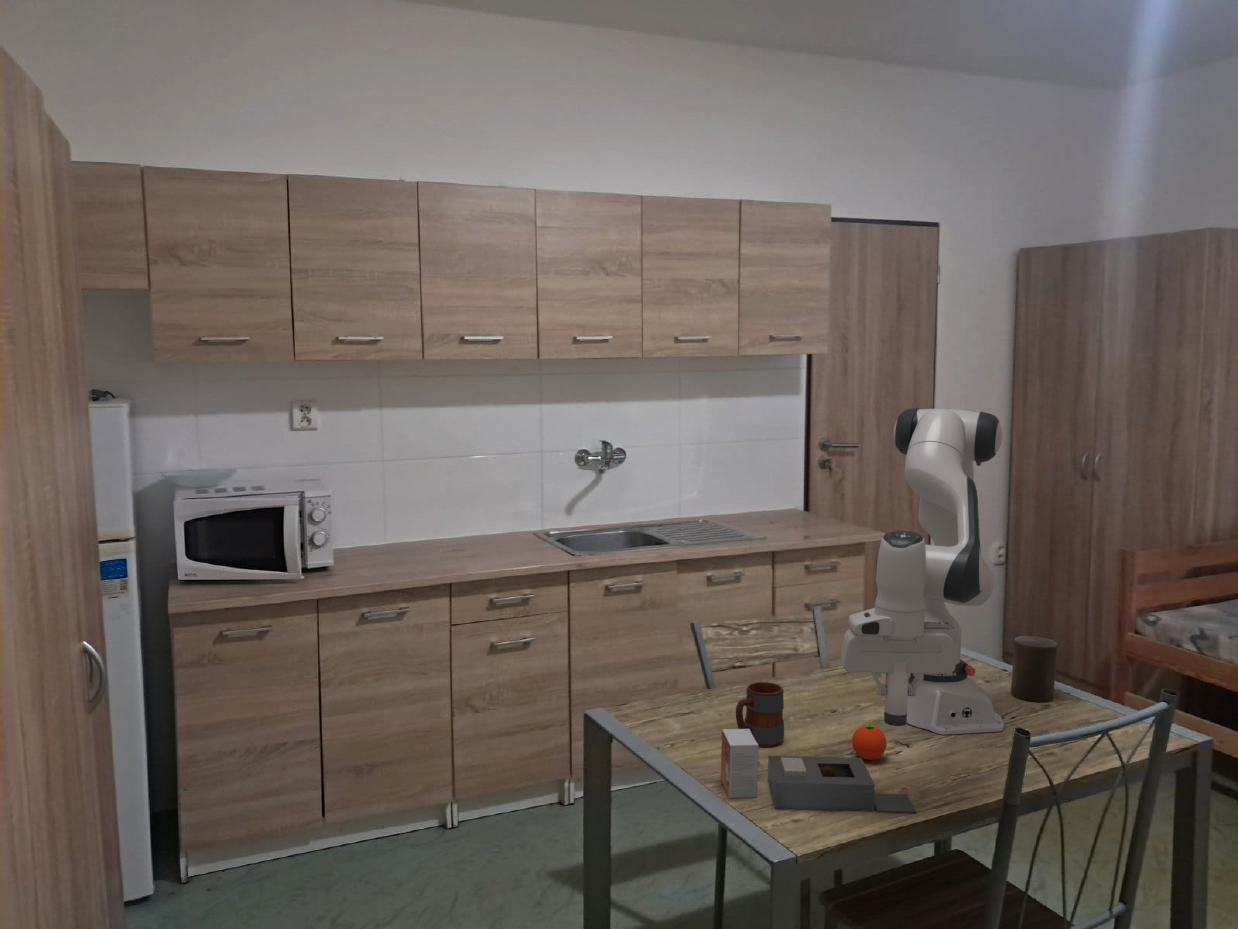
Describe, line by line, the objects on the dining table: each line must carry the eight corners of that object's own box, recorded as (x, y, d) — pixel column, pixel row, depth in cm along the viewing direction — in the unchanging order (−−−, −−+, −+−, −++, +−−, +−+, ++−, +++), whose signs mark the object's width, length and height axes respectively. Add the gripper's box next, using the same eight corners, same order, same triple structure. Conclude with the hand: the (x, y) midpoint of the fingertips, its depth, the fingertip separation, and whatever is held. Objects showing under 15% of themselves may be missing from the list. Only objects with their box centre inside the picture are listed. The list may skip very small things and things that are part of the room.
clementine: (847, 749, 210) (848, 716, 209) (880, 750, 210) (882, 717, 209) (854, 765, 202) (856, 731, 202) (889, 766, 202) (890, 732, 201)
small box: (720, 780, 195) (721, 728, 194) (748, 779, 195) (749, 727, 194) (728, 799, 187) (729, 745, 186) (757, 798, 188) (758, 744, 186)
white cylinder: (903, 718, 185) (906, 655, 184) (908, 726, 181) (911, 662, 180) (881, 717, 186) (884, 655, 184) (886, 725, 182) (889, 662, 180)
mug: (722, 740, 214) (724, 688, 213) (765, 729, 221) (767, 678, 219) (748, 754, 207) (750, 700, 206) (792, 742, 213) (793, 690, 212)
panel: (860, 782, 194) (861, 753, 194) (873, 811, 183) (875, 779, 182) (767, 780, 195) (768, 751, 194) (775, 808, 183) (775, 777, 182)
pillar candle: (1037, 705, 237) (1042, 644, 235) (1002, 693, 245) (1006, 633, 243) (1062, 698, 242) (1066, 638, 240) (1026, 686, 250) (1030, 628, 248)
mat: (906, 796, 189) (906, 794, 189) (916, 813, 182) (916, 811, 182) (869, 795, 189) (869, 793, 189) (877, 812, 182) (877, 810, 182)
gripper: (952, 617, 184) (948, 690, 186) (840, 615, 185) (837, 688, 186) (962, 627, 178) (958, 702, 179) (846, 625, 178) (844, 700, 180)
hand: (896, 695), depth 183 cm, fingers closed on white cylinder, 4 cm apart
